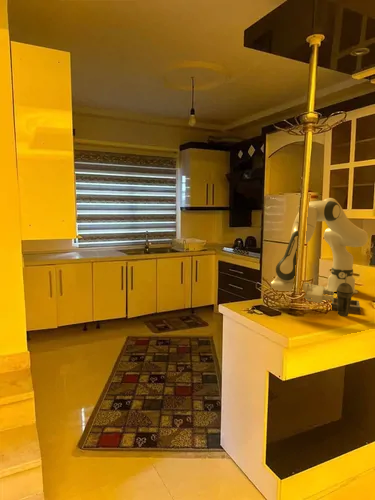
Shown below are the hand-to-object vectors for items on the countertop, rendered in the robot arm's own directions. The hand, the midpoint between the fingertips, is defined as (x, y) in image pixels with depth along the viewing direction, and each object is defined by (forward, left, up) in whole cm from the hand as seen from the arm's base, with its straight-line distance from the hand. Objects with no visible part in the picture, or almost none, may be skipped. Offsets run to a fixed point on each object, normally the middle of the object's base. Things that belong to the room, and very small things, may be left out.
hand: (333, 295), depth 170 cm
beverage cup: (0, +5, -9) cm, 10 cm away
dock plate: (-12, +6, -9) cm, 16 cm away
